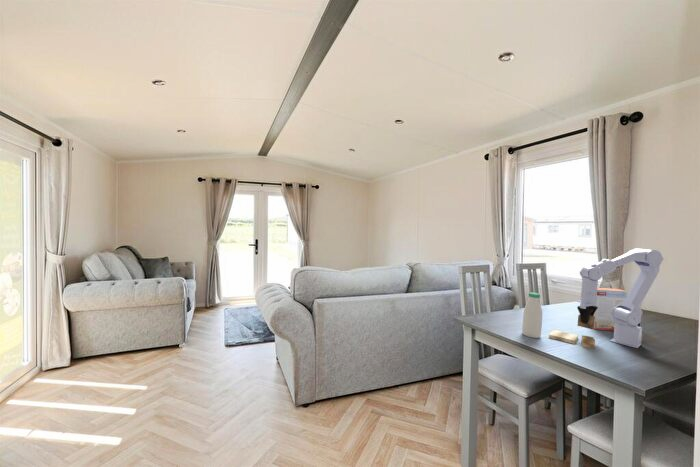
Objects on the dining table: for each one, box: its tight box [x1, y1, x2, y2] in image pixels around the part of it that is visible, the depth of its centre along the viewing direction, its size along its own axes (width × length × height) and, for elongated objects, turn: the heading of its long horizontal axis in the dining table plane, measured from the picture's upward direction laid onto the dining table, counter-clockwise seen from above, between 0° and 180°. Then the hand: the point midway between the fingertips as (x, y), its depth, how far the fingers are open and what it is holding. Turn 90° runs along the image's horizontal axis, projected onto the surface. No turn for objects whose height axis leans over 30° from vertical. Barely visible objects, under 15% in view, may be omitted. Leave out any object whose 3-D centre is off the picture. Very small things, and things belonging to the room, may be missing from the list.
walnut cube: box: [577, 314, 595, 330], centre depth 148 cm, size 5×5×5 cm
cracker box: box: [592, 287, 627, 332], centre depth 167 cm, size 14×6×21 cm, turn 84°
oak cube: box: [580, 334, 596, 350], centre depth 141 cm, size 4×4×4 cm
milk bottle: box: [521, 292, 543, 339], centre depth 151 cm, size 8×8×20 cm
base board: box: [548, 329, 579, 345], centre depth 150 cm, size 10×10×2 cm
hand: (586, 322), depth 148 cm, fingers closed on walnut cube, 5 cm apart
